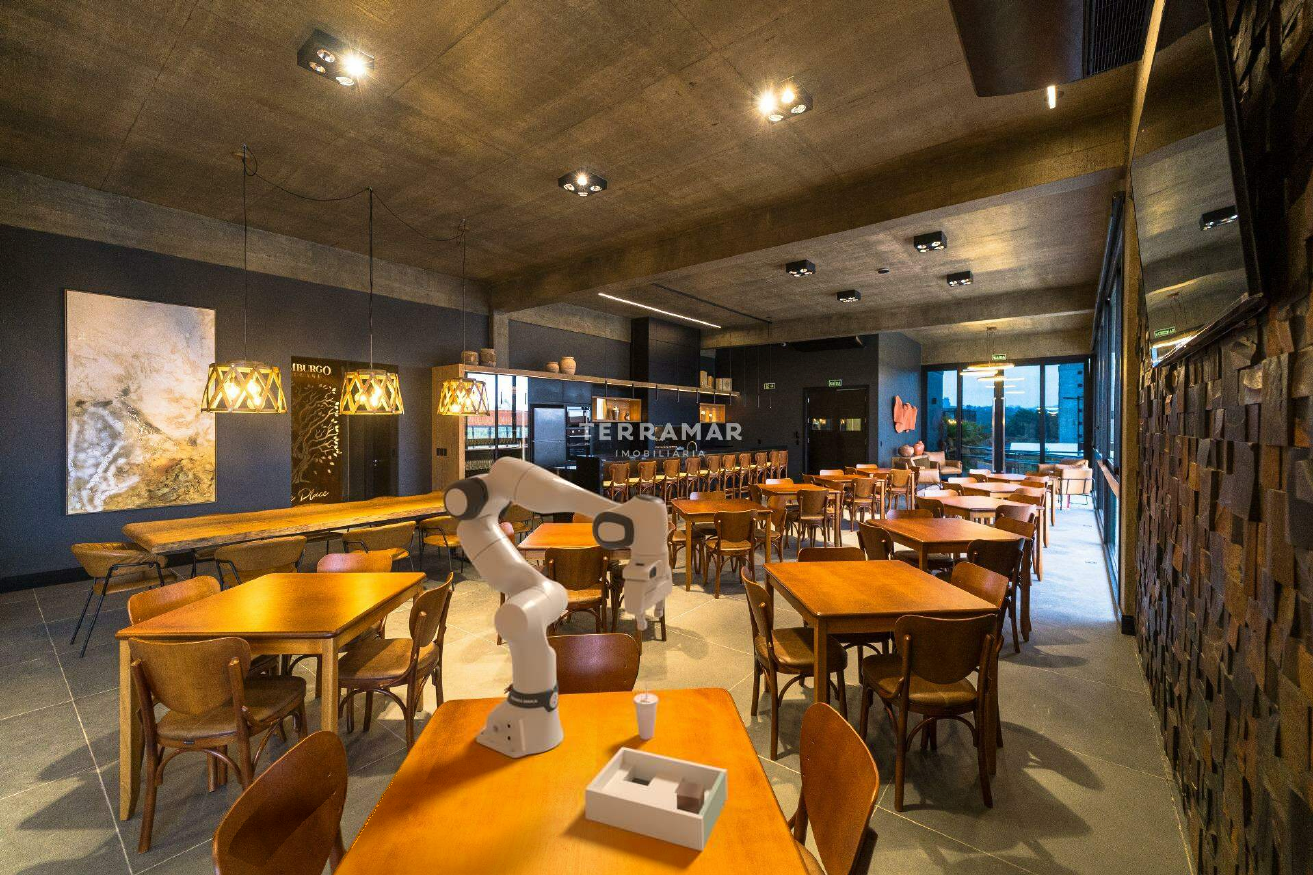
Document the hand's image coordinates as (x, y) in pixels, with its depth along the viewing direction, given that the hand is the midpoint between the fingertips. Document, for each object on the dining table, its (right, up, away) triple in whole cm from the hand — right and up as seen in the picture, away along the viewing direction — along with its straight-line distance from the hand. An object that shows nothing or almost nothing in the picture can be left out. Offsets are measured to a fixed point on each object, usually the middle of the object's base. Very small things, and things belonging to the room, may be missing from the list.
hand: (650, 622), depth 134 cm
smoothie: (-1, -34, +14) cm, 37 cm away
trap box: (+2, -34, -15) cm, 37 cm away
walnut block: (+8, -31, -21) cm, 38 cm away
